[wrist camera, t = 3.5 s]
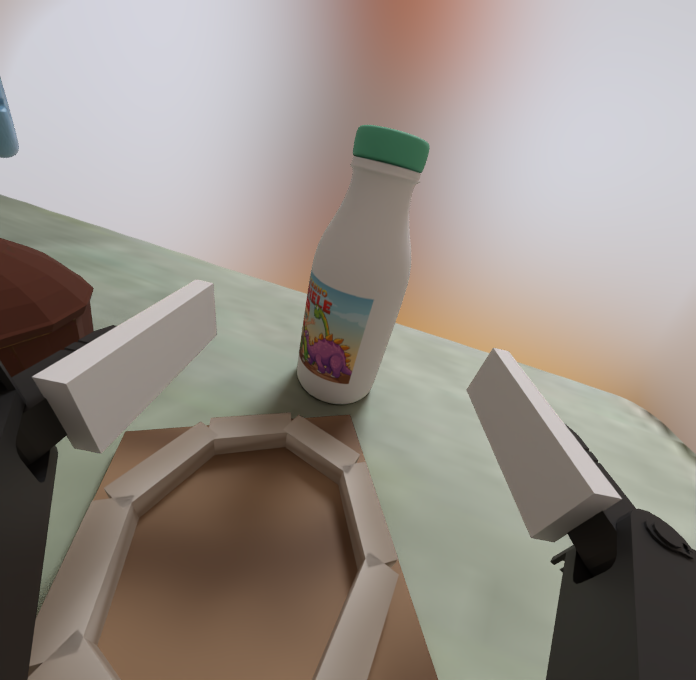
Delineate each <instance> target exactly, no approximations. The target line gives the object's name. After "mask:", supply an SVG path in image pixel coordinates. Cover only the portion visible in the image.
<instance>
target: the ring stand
mask: <svg viewBox="0 0 696 680" xmlns="http://www.w3.org/2000/svg"><path fill="white" fill-rule="evenodd" d="M28 680H438V678H437V675H436V672H435V669H434V666H433V663H432V660H431V657H430V654H429V651H428V648H427V645H426V642H425V639H424V636H423V633H422V630H421V627H420V624H419V621H418V618H417V615H416V612H415V609H414V606H413V603H412V600H411V597H410V594H409V591H408V588H407V585H406V582H405V579H404V576H403V573H402V570H401V567H400V564H399V561H398V556H397V553H396V550H395V547H394V544H393V541H392V538H391V535H390V532H389V529H388V526H387V523H386V520H385V517H384V514H383V511H382V508H381V505H380V502H379V499H378V496H377V493H376V490H375V487H374V484H373V481H372V478H371V475H370V472H369V469H368V466H367V463H366V461H365V458H364V455H363V452H362V449H361V446H360V443H359V440H358V437H357V434H356V431H355V428H354V425H353V422H352V419H351V416H350V415H339V416H325V417H312V418H303V417H302V416H300V415H298V416H297V417H295V418H294V419H291V413H276V414H261V415H246V416H231V417H216V418H211V420H210V425H205V424H203V423H202V422H199V423H198V424H196V425H195V426H193V427H180V428H167V429H153V430H140V431H127V432H125V434H124V436H123V438H122V440H121V442H120V444H119V446H118V448H117V450H116V453H115V455H114V457H113V459H112V461H111V463H110V465H109V467H108V470H107V472H106V474H105V476H104V478H103V480H102V482H101V484H100V486H99V489H98V491H97V493H96V495H95V497H94V499H93V501H91V504H90V506H89V508H88V510H87V512H86V514H85V516H84V518H83V520H82V522H81V525H80V527H79V529H78V531H77V533H76V535H75V537H74V539H73V541H72V544H71V546H70V548H69V550H68V552H67V554H66V556H65V558H64V560H63V562H62V565H61V567H60V569H59V571H58V573H57V575H56V577H55V579H54V581H53V584H52V586H51V588H50V590H49V592H48V594H47V596H46V598H45V600H44V602H43V605H42V607H41V609H40V611H39V613H38V615H37V617H36V621H35V628H34V635H33V643H32V650H31V658H30V665H29V672H28Z"/></svg>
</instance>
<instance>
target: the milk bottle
mask: <svg viewBox="0 0 696 680" xmlns="http://www.w3.org/2000/svg"><path fill="white" fill-rule="evenodd" d="M428 153H429V144H428V143H427V142H426V141H425V140H423V139H421V138H419V137H417V136H414V135H411V134H408V133H405V132H402V131H398V130H394V129H391V128H386V127H380V126H374V125H362V126H360V127H359V128H358V130H357V133H356V137H355V142H354V148H353V155H354V156H356V157H353V160H352V163H351V166H352V168H353V174H352V179H351V183H350V186H349V188H348V191H347V193H346V195H345V198H344V200H343V202H342V204H341V206H340V208H339V209H338V211H337V213H336V215H335V216H334V218H333V219H332V221H331V222H330V224H329V226H328V227H327V229H326V230H325V232H324V234H323V236H322V238H321V240H320V242H319V244H318V247H317V250H316V253H315V256H314V260H313V265H312V270H311V276H310V281H309V288H308V294H307V301H306V308H305V314H304V321H303V328H302V335H301V343H300V350H299V357H298V366H297V376H298V379H299V381H300V383H301V385H302V386H303V388H304V389H305V390H306V391H307V392H308V393H309V394H310V395H312V396H313V397H315V398H317V399H319V400H321V401H324V402H328V403H332V404H349V403H354V402H356V401H359V400H360V399H361V398H363V397H364V396H366V395H367V394H368V393H369V391H370V390H371V388H372V385H373V383H374V380H375V377H376V375H377V372H378V369H379V366H380V364H381V361H382V358H383V355H384V352H385V350H386V347H387V344H388V341H389V338H390V336H391V333H392V330H393V327H394V324H395V321H396V318H397V315H398V313H399V310H400V307H401V304H402V301H403V297H404V294H405V291H406V288H407V285H408V280H409V275H410V268H411V246H410V233H409V213H410V202H411V196H412V192H413V189H414V187H415V185H416V184H418V183H419V182H420V181H419V178H420V173H421V172H422V171H423V169H424V166H425V163H426V160H427V157H428Z"/></svg>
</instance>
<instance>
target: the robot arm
mask: <svg viewBox="0 0 696 680" xmlns="http://www.w3.org/2000/svg"><path fill="white" fill-rule="evenodd" d="M18 149H19V146H18V140H17V137H16V132H15V128H14V124H13V121H12V117H11V114H10V110H9V106H8V102H7V99H6V95H5V92H4V88H3V85H2V81H1V78H0V157H1V158H9V157H12V156H14V155H16V154H17V152H18ZM216 335H217V328H216V313H215V299H214V285H213V283H210V282H205V281H201V280H197V279H196V280H194V281H193V282H191V283H189V284H188V285H186V286H184V287H183V288H181V289H179V290H177V291H176V292H174V293H172V294H171V295H169V296H167V297H166V298H164V299H162V300H161V301H159V302H157V303H156V304H154V305H152V306H150V307H149V308H147V309H145V310H144V311H142V312H140V313H139V314H137V315H135V316H134V317H132V318H130V319H129V320H127V321H125V322H123V323H122V324H120V325H118V326H114V325H112V326H109V327H106V328H103V329H100V330H96V331H93V332H92V333H90V334H88V335H86V336H85V337H83V338H81V339H79V340H78V342H74V343H72V344H70V345H69V346H67V347H65V349H64V350H60V351H58V352H56V353H54V354H52V355H51V356H49V357H47V358H45V359H44V360H42V361H40V362H38V363H36V364H35V365H33V366H31V367H29V368H28V369H26V370H24V371H22V372H20V373H19V374H17V375H15V376H13V377H11V376H10V375H9V373H8V372H7V370H6V369H5V367H4V366H3V364H2V363H1V361H0V680H28V672H29V665H30V658H31V650H32V643H33V635H34V628H35V621H36V613H37V606H38V598H39V591H40V584H41V576H42V569H43V561H44V554H45V547H46V539H47V532H48V524H49V517H50V510H51V502H52V495H53V488H54V480H55V473H56V465H57V458H58V451H57V447H56V446H55V445H56V444H57V443H58V442H59V441H60V440H62V439H63V438H64V437H65V436H66V435H67V437H68V439H69V441H70V442H71V444H72V446H73V447H74V448H75V449H80V450H86V451H91V452H96V453H102V452H103V451H104V450H105V449H106V448H107V447H108V446H109V445H110V444H111V443H112V442H113V441H114V440H115V439H116V438H117V437H118V436H119V435H120V434H121V433H122V432H123V431H124V430H125V429H126V428H127V427H128V426H129V425H130V424H131V423H132V422H133V420H134V419H135V418H136V417H137V416H138V415H139V414H140V413H141V412H142V411H143V410H144V409H145V408H146V407H147V406H148V405H149V404H150V403H151V402H152V401H153V400H154V399H155V398H156V397H157V396H158V395H159V394H160V393H161V392H162V391H163V390H164V389H165V388H166V387H167V386H168V385H169V384H170V382H171V381H172V380H173V379H174V378H175V377H176V376H177V375H178V374H179V373H180V372H181V371H182V370H183V369H184V368H185V367H186V366H187V365H188V364H189V363H190V362H191V361H192V360H193V359H194V358H195V357H196V356H197V355H198V354H199V353H200V352H201V351H202V350H203V349H204V348H205V347H206V346H207V344H208V343H209V342H210V341H211V340H212V339H213V338H214V337H215V336H216ZM467 392H468V394H469V397H470V399H471V401H472V404H473V406H474V408H475V410H476V413H477V415H478V417H479V420H480V422H481V424H482V427H483V429H484V431H485V433H486V436H487V438H488V440H489V443H490V445H491V447H492V450H493V452H494V454H495V456H496V459H497V461H498V463H499V466H500V468H501V470H502V472H503V475H504V477H505V479H506V482H507V484H508V486H509V489H510V491H511V493H512V495H513V498H514V500H515V502H516V505H517V507H518V509H519V511H520V514H521V516H522V518H523V521H524V523H525V525H526V528H527V530H528V532H529V534H530V537H531V538H534V539H540V540H545V541H550V542H555V541H557V540H559V539H560V538H562V537H563V536H565V535H566V534H568V535H569V537H570V539H571V541H572V543H573V544H574V545H572V546H571V547H569V548H567V549H566V550H564V551H562V552H561V553H559V554H557V555H556V556H554V557H553V558H552V560H551V561H550V562H551V563H552V564H554V565H555V564H557V563H559V562H560V561H565V563H564V567H563V568H561V569H560V571H562V572H563V576H562V582H561V588H560V595H559V601H558V607H557V614H556V620H555V626H554V632H553V639H552V645H551V651H550V657H549V664H548V670H547V676H546V680H696V550H693V549H691V547H690V546H689V545H688V543H687V542H686V541H685V540H684V538H683V537H681V536H680V535H679V534H678V533H677V532H676V531H675V530H674V529H673V528H672V527H671V526H670V525H668V524H667V523H666V522H664V521H663V520H662V519H660V518H659V517H657V516H655V515H653V514H652V513H650V512H648V511H644V510H641V509H636V508H635V507H634V505H633V504H632V503H631V502H630V500H629V499H628V498H627V497H626V495H625V494H624V493H623V491H622V490H621V489H620V488H619V486H618V485H617V484H616V483H615V481H614V480H613V479H612V477H611V476H610V475H609V474H608V472H607V471H606V470H605V469H604V467H603V466H602V465H601V464H600V463H598V460H597V458H596V457H595V456H594V455H593V453H592V452H589V448H588V447H587V446H586V445H585V443H584V442H583V441H582V439H581V438H580V437H579V436H578V435H577V434H576V433H575V432H574V431H573V430H572V429H570V428H569V427H568V426H567V425H566V424H565V423H563V421H562V420H561V419H560V417H559V416H558V415H557V414H556V412H555V411H554V410H553V408H552V407H551V406H550V404H549V403H548V402H547V401H546V399H545V398H544V397H543V395H542V394H541V393H540V391H539V390H538V389H537V388H536V386H535V385H534V384H533V382H532V381H531V380H530V378H529V377H528V376H527V375H526V373H525V372H524V371H523V369H522V368H521V367H520V365H519V364H518V363H517V362H516V360H515V359H514V358H513V356H512V355H511V354H510V352H509V351H505V350H500V349H496V348H493V349H492V351H491V352H490V354H489V355H488V357H487V358H486V360H485V362H484V363H483V365H482V366H481V368H480V369H479V371H478V373H477V374H476V376H475V377H474V379H473V381H472V382H471V384H470V385H469V387H468V388H467Z"/></svg>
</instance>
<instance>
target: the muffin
mask: <svg viewBox="0 0 696 680" xmlns="http://www.w3.org/2000/svg"><path fill="white" fill-rule="evenodd" d="M93 289H94V288H93V287H92V286H91V285H90V284H88V283H87V282H86V281H85V280H84V279H83V278H82V277H81V276H80V275H78V274H76V273H74V272H73V271H71V270H70V269H68V268H67V267H65V266H64V265H62V264H61V263H59V262H58V261H56V260H55V259H53V258H51V257H50V256H48V255H46V254H45V253H43V252H40V251H38V250H35V249H33V248H30V247H27V246H24V245H21V244H18V243H15V242H11V241H8V240H5V239H2V238H0V361H1V363H2V364H3V366H4V367H5V369H6V370H7V372H8V373H9V375H10V376H11V377H13V376H15V375H17V374H19V373H20V372H22V371H24V370H26V369H28V368H29V367H31V366H33V365H35V364H36V363H38V362H40V361H42V360H44V359H45V358H47V357H49V356H51V355H52V354H54V353H56V352H58V351H60V350H64V349H65V347H67V346H69V345H70V344H72V343H74V342H78V340H79V339H81V338H83V337H85V336H86V335H88V334H90V333H92V332H93V323H92V315H91V306H90V299H91V296H92V292H93Z"/></svg>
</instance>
